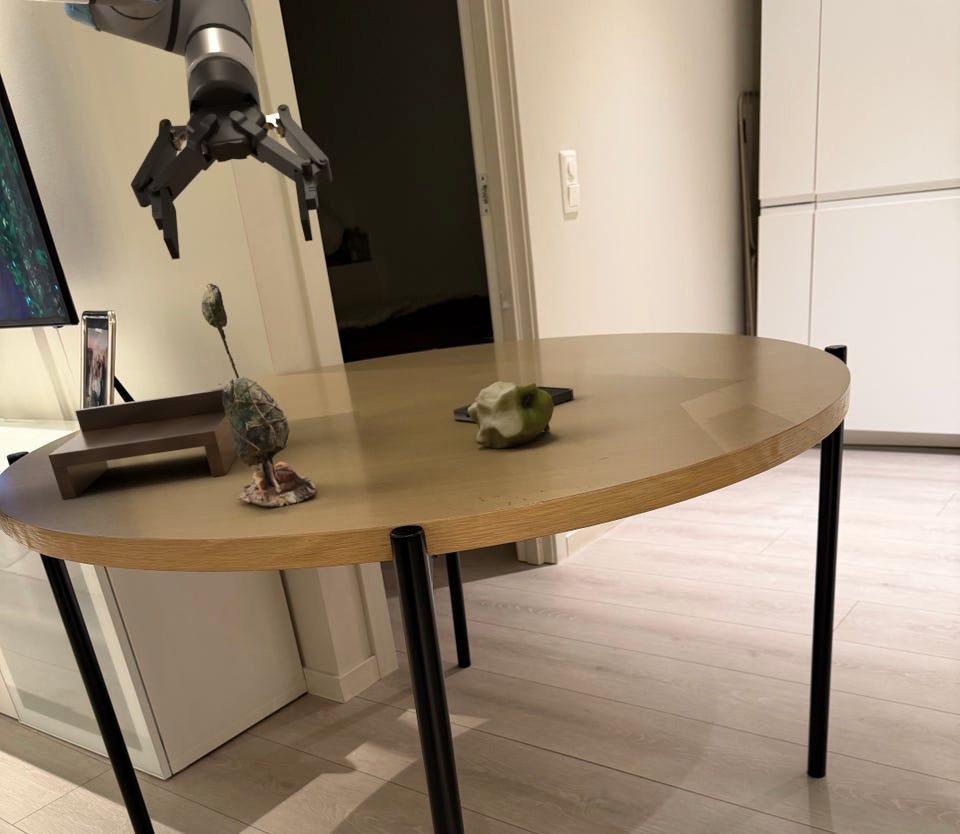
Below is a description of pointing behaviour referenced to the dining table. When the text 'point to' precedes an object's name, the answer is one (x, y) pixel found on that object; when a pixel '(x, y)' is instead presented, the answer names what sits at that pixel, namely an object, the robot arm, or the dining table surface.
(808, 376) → the dining table surface
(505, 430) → the fruit
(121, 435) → the bench
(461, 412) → the phone
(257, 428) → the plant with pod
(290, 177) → the robot arm
